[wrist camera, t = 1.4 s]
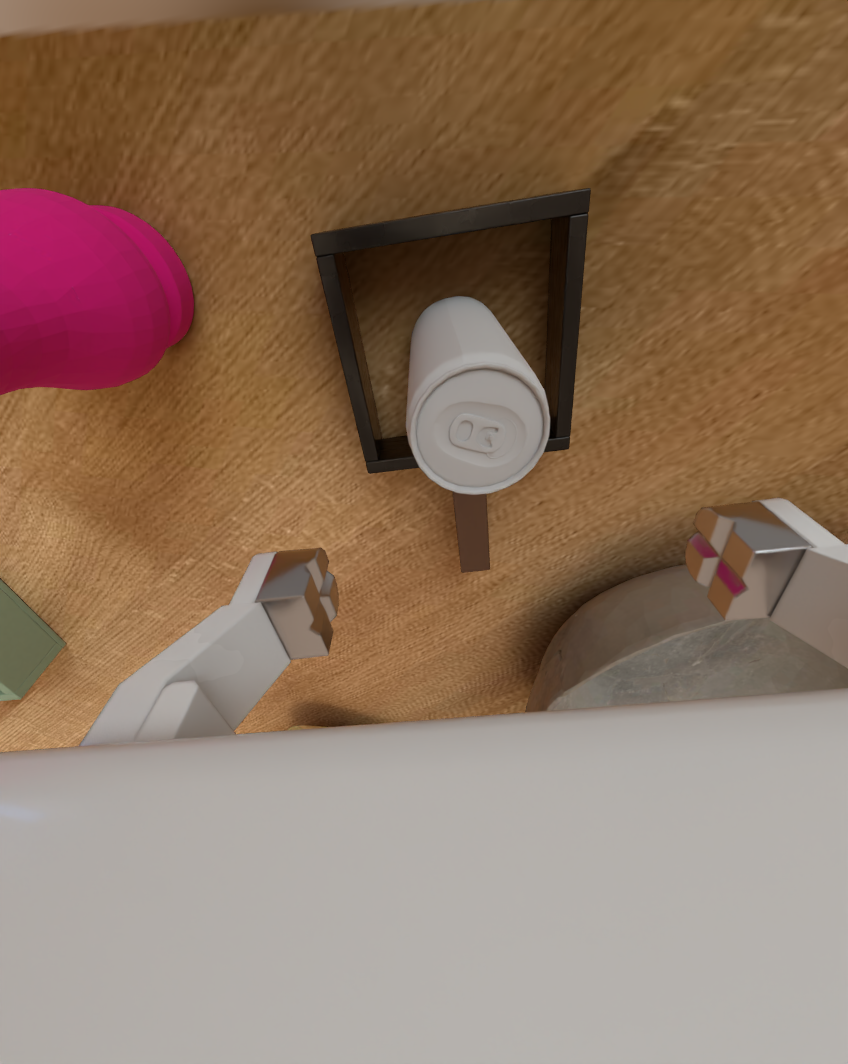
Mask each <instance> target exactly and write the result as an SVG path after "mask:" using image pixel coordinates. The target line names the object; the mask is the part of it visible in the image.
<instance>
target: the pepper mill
mask: <svg viewBox="0 0 848 1064" xmlns="http://www.w3.org/2000/svg"><path fill="white" fill-rule="evenodd" d="M193 314H194V298H193V292H192V287H191V283H190V280H189V277H188V275H187V273H186V270H185V268H184V266H183V264H182V262H181V260H180V259H179V257H178V256H177V254H176V253H175V251H174V250H173V248H172V247H171V246H170V245H169V243H168V242H167V241H166V240H165V239H164V238H163V237H162V236H161V235H160V234H159V233H158V232H157V231H156V230H155V229H154V228H152V227H151V226H150V225H149V224H147V223H146V222H145V221H143V220H142V219H140V218H138V217H137V216H135V215H133V214H131V213H129V212H126V211H124V210H122V209H118V208H115V207H110V206H103V205H87V204H85V203H83V202H81V201H79V200H77V199H75V198H72V197H69V196H66V195H63V194H60V193H57V192H53V191H49V190H44V189H34V188H21V189H8V190H1V191H0V395H2V394H5V393H8V392H11V391H15V390H18V389H24V388H33V387H54V388H65V389H76V390H94V389H102V388H110V387H117V386H120V385H122V384H125V383H127V382H130V381H132V380H135V379H138V378H140V377H141V376H143V375H145V374H147V373H148V372H149V371H150V370H152V369H153V368H154V367H155V366H156V365H157V364H158V362H159V361H160V359H161V358H162V356H163V355H164V352H165V350H166V349H167V348H168V347H170V346H172V345H174V344H176V343H177V342H178V341H180V340H181V339H182V338H183V337H184V336H185V334H186V333H187V331H188V330H189V327H190V325H191V323H192V318H193Z"/></svg>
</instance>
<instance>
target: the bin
mask: <svg viewBox="0 0 848 1064" xmlns="http://www.w3.org/2000/svg"><path fill="white" fill-rule="evenodd" d="M65 644H66V643H65V642H64V641H63V640H62V639H61V638H60V637H59V636H58V635H57V634H56V633H55V632H54V631H53V630H52V629H51V628H50V627H49V626H48V625H47V624H45V623H44V622H43V621H42V620H41V619H40V618H39V617H38V616H37V615H36V614H35V613H34V612H33V611H32V610H31V609H30V608H29V607H28V606H27V605H26V604H25V603H24V602H23V601H22V600H21V599H20V598H19V597H18V596H17V595H16V594H15V593H14V592H13V591H12V590H11V589H10V588H9V587H8V586H7V585H6V584H5V583H4V582H3V581H2V580H1V579H0V701H6V700H17V699H22V697H23V696H24V695H25V694H26V692H27V691H28V690H29V689H30V688H31V686H32V685H33V684H34V683H35V681H36V680H37V679H38V678H39V676H40V675H41V674H42V673H43V672H44V670H45V669H46V668H47V667H48V665H49V664H50V663H51V662H52V660H53V659H54V658H55V657H56V655H57V654H58V653H59V652H60V651H61V649H62V648H63V647H64V646H65Z"/></svg>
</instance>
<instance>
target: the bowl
mask: <svg viewBox="0 0 848 1064" xmlns="http://www.w3.org/2000/svg"><path fill="white" fill-rule="evenodd" d="M708 590H709V588H707V587H705V586H703V585H701V584H699V583H697V582H696V581H695V580H694V579H693V577H692V576H691V574H690V573H689V571H688V568H687V566H686V564H685V565H678V566H673V567H669V568H665V569H662V570H658V571H655V572H652V573H648V574H645V575H641V576H638V577H634V578H632V579H630V580H628V581H626V582H624V583H621V584H619V585H617V586H615V587H613V588H610V589H608V590H606V591H604V592H602V593H601V594H599V595H597V596H596V597H594V598H593V599H591V600H590V601H588V602H586V603H585V604H584V605H582V606H581V607H580V608H579V609H578V610H577V611H576V612H575V613H574V614H573V615H572V616H571V617H570V618H569V619H568V620H567V621H565V622H564V624H563V625H562V626H561V628H560V629H559V630H558V631H557V633H556V634H555V635H554V637H553V639H552V640H551V642H550V644H549V646H548V648H547V650H546V652H545V654H544V656H543V658H542V661H541V665H540V668H539V671H538V674H537V677H536V680H535V681H534V684H533V687H532V689H531V693H530V696H529V699H528V703H527V706H526V711H525V712H538V711H551V710H565V709H578V708H591V707H605V706H618V705H631V704H645V703H658V702H671V701H684V700H697V699H710V698H723V697H736V696H749V695H762V694H775V693H788V692H801V691H814V690H827V689H841V688H848V668H846V667H845V666H843V665H841V664H840V663H838V662H836V661H835V660H833V659H832V658H830V657H828V656H827V655H825V654H824V653H822V652H820V651H819V650H817V649H816V648H814V647H812V646H811V645H809V644H807V643H806V642H804V641H803V640H801V639H799V638H798V637H796V636H795V635H793V634H791V633H790V632H788V631H787V630H785V629H783V628H782V627H780V626H778V625H777V624H775V623H774V622H772V621H770V620H769V619H770V618H758V619H742V620H726V621H725V620H724V618H723V617H722V616H721V615H720V613H719V612H718V611H717V609H716V608H715V607H714V605H713V604H712V603H711V601H710V600H709V599H708V597H707V595H708Z"/></svg>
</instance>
